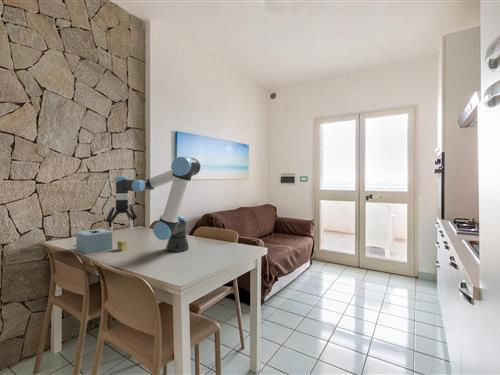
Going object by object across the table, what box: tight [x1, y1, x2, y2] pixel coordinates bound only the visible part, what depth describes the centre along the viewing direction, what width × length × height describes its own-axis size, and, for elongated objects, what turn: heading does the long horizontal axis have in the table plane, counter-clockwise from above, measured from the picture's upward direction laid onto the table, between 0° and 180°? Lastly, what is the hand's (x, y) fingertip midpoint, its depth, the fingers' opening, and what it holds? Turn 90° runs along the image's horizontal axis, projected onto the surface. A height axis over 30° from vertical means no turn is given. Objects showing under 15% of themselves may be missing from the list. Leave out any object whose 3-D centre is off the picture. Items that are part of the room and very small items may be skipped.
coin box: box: [75, 228, 113, 255], centre depth 176 cm, size 16×16×12 cm
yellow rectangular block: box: [117, 239, 127, 252], centre depth 176 cm, size 6×3×6 cm, turn 53°
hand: (121, 230), depth 176 cm, fingers open, 13 cm apart
